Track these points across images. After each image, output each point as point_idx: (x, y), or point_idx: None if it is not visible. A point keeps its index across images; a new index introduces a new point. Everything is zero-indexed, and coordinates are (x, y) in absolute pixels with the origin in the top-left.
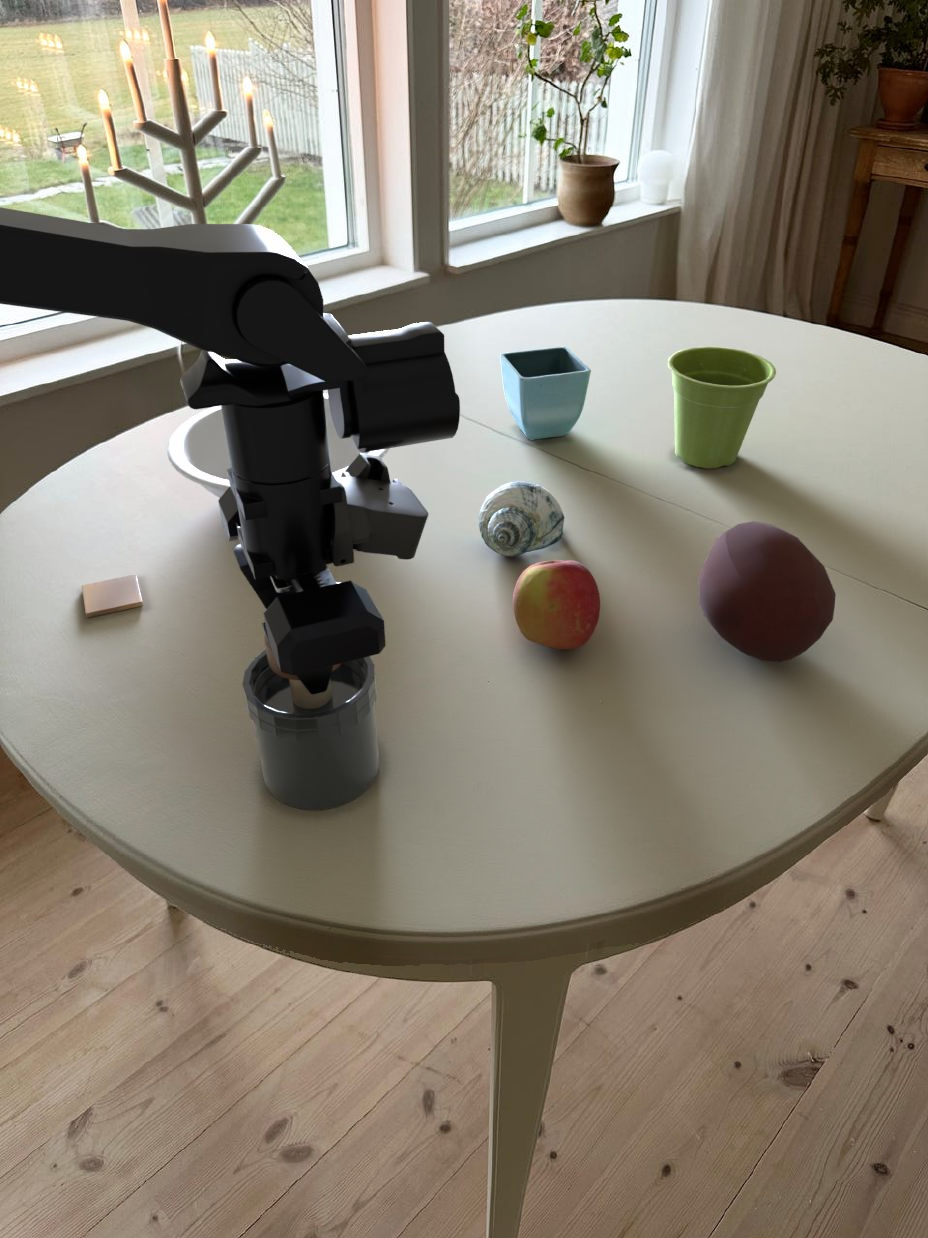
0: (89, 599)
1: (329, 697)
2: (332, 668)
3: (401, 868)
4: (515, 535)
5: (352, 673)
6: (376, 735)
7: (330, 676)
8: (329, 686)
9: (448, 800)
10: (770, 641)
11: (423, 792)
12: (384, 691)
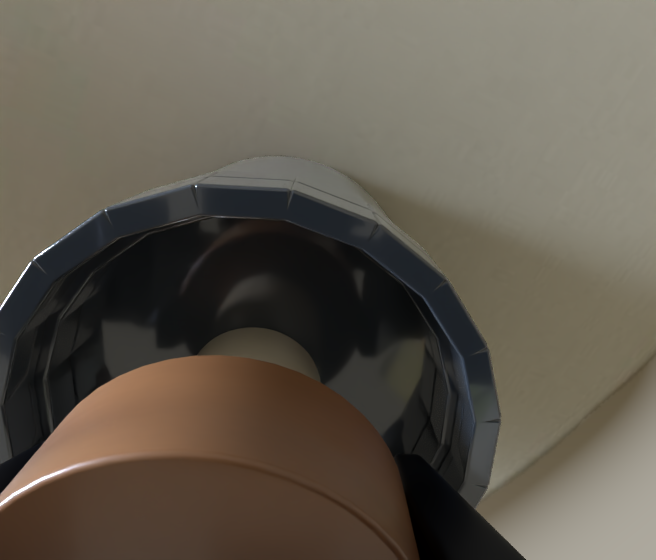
0: None
1: (302, 352)
2: (522, 556)
3: (609, 229)
4: None
5: (188, 229)
6: (336, 180)
7: (472, 507)
8: (290, 365)
9: (507, 58)
10: None
11: (455, 103)
12: (73, 48)
